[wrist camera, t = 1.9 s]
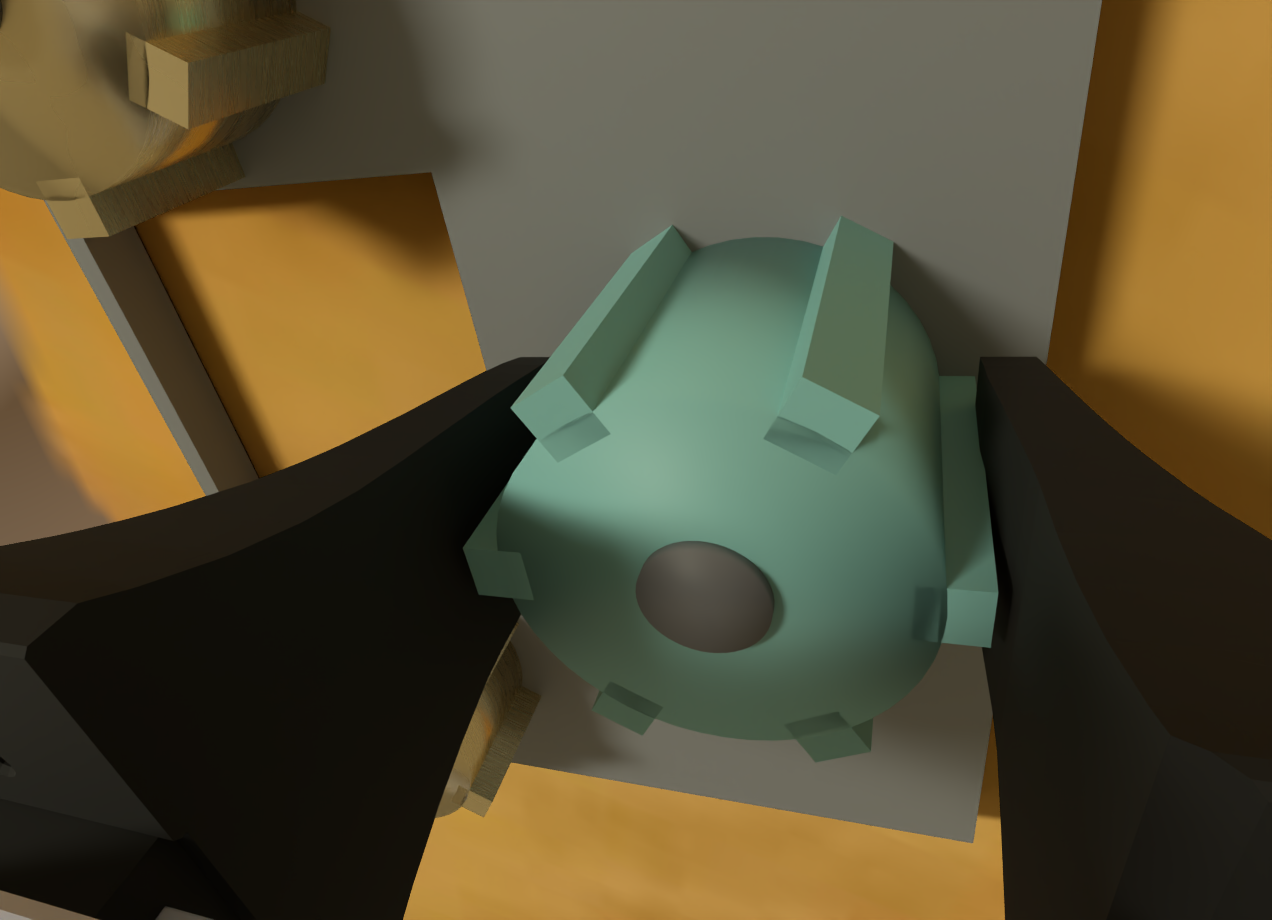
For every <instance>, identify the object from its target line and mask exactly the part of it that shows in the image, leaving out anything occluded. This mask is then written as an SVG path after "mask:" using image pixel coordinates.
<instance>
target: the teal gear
mask: <svg viewBox="0 0 1272 920" xmlns="http://www.w3.org/2000/svg"><path fill="white" fill-rule="evenodd" d="M893 243H894V242H893V241H891V240H889V239H887V238H885V237H883V236H881V235H879V234H877V233H875V232H873V231H871V230H869V229H867V228H865V227H863V226H861V225H859V224H857V223H855V222H853V221H851V220H849V219H847V218H845V217H843V216H841V217H840V219H839V220H838V222H837V224H836V225H835V227H834V229H833V231H832V232H831V234H830V236H829V238H828V239H827V241H826V243H825V245H824V246H820V245H816V244H813V243H809V242H805V241H800V240H793V239H786V238H779V237H752V238H743V239H734V240H729V241H725V242H720V243H716V244H712V245H709V246H706V247H704V248H701V249H699V250H696V251H694V252H691V250H690V249H689V247H688V246H687V245H686V243H685V242H684V240H683V239H682V237H681V236H680V235H679V233H678V232H677V230H676V229H675V228H674V226H673V225H671V226H670V227H668V228H667V229H666V230H664V231H663V232H661V233H660V234H658V235H657V236H655V237H654V238H653V239H651V240H650V241H648V242H647V243H645V244H644V245H643V246H641V247H640V248H638V249H637V250H635V251H634V252H632V253H631V254H630V256H629V257H628V258H627V260H626V261H625V262H624V263H623V265H622V266H621V267H620V269H619V270H618V271H617V272H616V274H615V275H614V276H613V277H612V279H611V280H610V281H609V283H608V284H607V285H606V286H605V288H604V289H603V290H602V292H601V293H600V294H599V295H598V297H597V298H596V299H595V300H594V302H593V303H592V304H591V306H590V307H589V308H588V309H587V311H586V312H585V313H584V315H583V316H582V317H581V318H580V320H579V321H578V322H577V323H576V325H575V326H574V327H573V329H572V330H571V331H570V332H569V334H568V335H567V336H566V337H565V339H564V340H563V341H562V343H561V344H560V345H559V346H558V348H557V349H556V350H555V352H554V353H553V354H552V355H551V357H550V358H549V359H548V360H547V362H546V363H545V364H544V366H543V367H542V368H541V369H540V371H539V372H538V373H537V375H536V376H535V377H534V378H533V380H532V381H531V382H530V383H529V385H528V386H527V387H526V389H525V390H524V391H523V392H522V394H521V395H520V396H519V398H518V399H517V400H516V401H515V403H514V404H513V405H512V406H511V409H512V410H513V412H514V413H515V414H516V415H517V416H518V417H519V418H520V420H521V421H522V422H523V423H524V424H525V425H526V427H527V428H528V429H529V430H530V431H531V432H532V434H533V435H534V436H535V437H536V438H537V439H536V441H535V442H534V443H533V445H532V446H531V448H530V449H529V451H528V452H527V454H526V455H525V456H524V458H523V459H522V461H521V462H520V464H519V465H518V467H517V468H516V469H515V471H514V472H513V474H512V476H511V478H510V480H509V482H508V483H507V485H506V486H505V487H504V489H503V490H502V492H501V493H500V495H499V496H498V498H497V499H496V500H495V502H494V503H493V505H492V506H491V508H490V509H489V511H488V512H487V514H486V515H485V516H484V518H483V519H482V521H481V522H480V524H479V525H478V527H477V528H476V529H475V531H474V532H473V534H472V535H471V537H470V538H469V540H468V541H467V543H466V544H465V545H464V547H463V550H464V553H465V556H466V559H467V562H468V565H469V568H470V570H471V573H472V576H473V579H474V582H475V585H476V588H477V591H478V594H479V595H487V596H497V597H507V598H513V600H514V602H515V604H516V605H517V607H518V609H519V611H520V613H521V614H522V616H523V617H524V619H525V620H526V622H527V623H528V624H529V626H530V627H531V629H532V630H533V632H534V633H535V634H536V635H537V636H538V637H539V639H540V640H541V641H542V642H543V643H544V644H545V645H546V647H547V648H548V649H549V650H550V651H551V652H552V653H553V654H554V655H555V656H556V657H557V658H558V659H559V660H561V661H562V662H563V663H564V664H565V665H566V666H567V667H568V668H569V669H571V670H572V671H573V672H575V673H576V674H577V675H578V676H580V677H581V678H582V679H583V680H585V681H586V682H588V683H589V684H591V685H592V686H594V687H595V688H597V689H598V690H599V693H598V695H597V698H596V700H595V703H594V705H593V708H592V711H594V712H596V713H598V714H600V715H602V716H604V717H606V718H608V719H610V720H612V721H614V722H616V723H618V724H620V725H622V726H624V727H626V728H628V729H630V730H632V731H634V732H636V733H638V734H640V735H642V736H643V734H644V733H645V732H646V730H647V729H648V727H649V726H650V725H651V723H652V722H653V721H654V719H657V720H660V721H663V722H666V723H669V724H671V725H674V726H678V727H681V728H685V729H688V730H692V731H696V732H699V733H704V734H710V735H715V736H720V737H726V738H735V739H744V740H767V741H778V740H793V739H796V740H797V741H798V743H799V744H800V745H801V746H802V747H803V748H804V750H805V751H806V752H807V753H808V754H809V755H810V757H811V758H812V759H813V760H814V761H815V762H821V761H826V760H831V759H837V758H842V757H847V756H852V755H857V754H862V753H867V752H871V745H872V728H873V717H875V716H877V715H879V714H881V713H882V712H884V711H886V710H888V709H889V708H891V707H892V706H893V705H895V704H896V703H897V702H898V701H900V700H901V699H902V698H904V697H905V696H906V695H907V694H908V693H909V692H910V691H911V690H912V689H913V688H914V687H915V686H916V685H917V684H918V683H919V682H920V681H921V680H922V678H923V677H924V675H925V674H926V672H927V671H928V669H929V668H930V666H931V665H932V663H933V662H934V660H935V658H936V655H937V653H938V650H939V648H940V646H941V643H949V644H959V645H968V646H978V647H988V648H991V642H992V635H993V628H994V621H995V613H996V606H997V599H998V585H997V575H996V566H995V557H994V548H993V538H992V529H991V520H990V510H989V501H988V492H987V483H986V473H985V468H984V464H983V460H982V457H981V453H980V447H979V438H978V428H977V418H976V408H975V401H976V392H977V390H976V381H975V376H939V372H938V366H937V360H936V357H935V354H934V351H933V348H932V345H931V342H930V339H929V337H928V335H927V333H926V331H925V329H924V327H923V325H922V323H921V321H920V320H919V318H918V317H917V315H916V314H915V313H914V311H913V310H912V308H911V307H910V306H909V304H908V303H907V302H906V300H905V299H904V298H903V297H902V296H901V295H900V294H899V293H898V292H897V291H896V290H895V289H894V288H893V287H892V286H891V285H890V281H891V268H892V255H893Z"/></svg>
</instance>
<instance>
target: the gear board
mask: <svg viewBox="0 0 1272 920" xmlns="http://www.w3.org/2000/svg"><path fill="white" fill-rule="evenodd" d="M1101 4H1102V0H0V188H3V189H5V190H7V191H10V192H13V193H17V194H20V195H23V196H26V197H30V198H36V199H42V200H44V201H45V203H46V205H47V207H48V209H49V211H50V212H51V214H52V216H53V218H54V220H55V222H56V223H57V225H58V227H59V229H60V231H61V232H62V234H63V236H64V238H65V240H66V242H67V243H68V245H69V247H70V249H71V251H72V253H73V254H74V256H75V258H76V260H77V262H78V263H79V265H80V267H81V269H82V271H83V273H84V274H85V276H86V278H87V280H88V282H89V283H90V285H91V287H92V289H93V291H94V293H95V294H96V296H97V298H98V300H99V302H100V304H101V305H102V307H103V309H104V311H105V313H106V314H107V316H108V318H109V320H110V322H111V324H112V325H113V327H114V329H115V331H116V333H117V335H118V336H119V338H120V340H121V342H122V344H123V345H124V347H125V349H126V351H127V353H128V355H129V356H130V358H131V360H132V362H133V364H134V365H135V367H136V369H137V371H138V373H139V375H140V376H141V378H142V380H143V382H144V384H145V386H146V387H147V389H148V391H149V393H150V395H151V396H152V398H153V400H154V402H155V404H156V406H157V407H158V409H159V411H160V413H161V415H162V417H163V418H164V420H165V422H166V424H167V426H168V427H169V429H170V431H171V433H172V435H173V437H174V438H175V440H176V442H177V444H178V446H179V448H180V449H181V451H182V453H183V455H184V457H185V458H186V460H187V462H188V464H189V466H190V468H191V469H192V471H193V473H194V475H195V477H196V478H197V480H198V482H199V484H200V486H201V488H202V489H203V491H204V493H205V495H206V496H208V495H211V494H214V493H217V492H220V491H223V490H226V489H229V488H233V487H236V486H239V485H242V484H245V483H248V482H251V481H254V480H256V479H259V478H258V476H257V474H256V472H255V470H254V468H253V466H252V464H251V462H250V460H249V458H248V456H247V454H246V452H245V450H244V448H243V446H242V444H241V442H240V440H239V438H238V436H237V433H236V431H235V429H234V427H233V425H232V423H231V421H230V419H229V417H228V415H227V413H226V411H225V409H224V407H223V405H222V403H221V401H220V399H219V397H218V395H217V393H216V391H215V389H214V387H213V385H212V383H211V381H210V379H209V377H208V375H207V373H206V371H205V369H204V367H203V365H202V363H201V361H200V359H199V357H198V355H197V353H196V351H195V349H194V347H193V345H192V343H191V341H190V339H189V337H188V335H187V333H186V331H185V329H184V327H183V325H182V323H181V321H180V319H179V317H178V315H177V313H176V311H175V309H174V307H173V305H172V303H171V300H170V298H169V296H168V294H167V292H166V290H165V288H164V286H163V284H162V282H161V280H160V278H159V276H158V274H157V272H156V270H155V268H154V266H153V264H152V262H151V260H150V258H149V256H148V254H147V252H146V250H145V248H144V246H143V244H142V242H141V240H140V238H139V236H138V234H137V232H136V230H135V228H134V226H135V225H137V224H139V223H141V222H144V221H146V220H148V219H151V218H153V217H155V216H157V215H160V214H162V213H164V212H167V211H169V210H171V209H174V208H176V207H178V206H180V205H183V204H185V203H187V202H190V201H192V200H194V199H196V198H199V197H201V196H203V195H206V194H208V193H210V192H213V191H215V190H225V189H237V188H249V187H261V186H273V185H285V184H297V183H309V182H321V181H333V180H345V179H357V178H368V177H380V176H392V175H404V174H416V173H428V172H431V173H432V176H433V180H434V184H435V187H436V191H437V194H438V198H439V202H440V205H441V209H442V212H443V216H444V220H445V223H446V227H447V230H448V234H449V237H450V241H451V245H452V248H453V252H454V255H455V259H456V263H457V266H458V270H459V273H460V277H461V281H462V284H463V288H464V291H465V295H466V298H467V302H468V306H469V309H470V313H471V316H472V320H473V324H474V327H475V331H476V334H477V338H478V341H479V345H480V349H481V352H482V356H483V359H484V363H485V367H486V370H489V369H491V368H493V367H496V366H498V365H500V364H502V363H505V362H507V361H510V360H513V359H516V358H519V357H551V355H552V354H553V353H554V352H555V350H556V349H557V348H558V346H559V345H560V344H561V343H562V341H563V340H564V339H565V337H566V336H567V335H568V334H569V332H570V331H571V330H572V329H573V327H574V326H575V325H576V323H577V322H578V321H579V320H580V318H581V317H582V316H583V315H584V313H585V312H586V311H587V309H588V308H589V307H590V306H591V304H592V303H593V302H594V300H595V299H596V298H597V297H598V295H599V294H600V293H601V292H602V290H603V289H604V288H605V286H606V285H607V284H608V283H609V281H610V280H611V279H612V277H613V276H614V275H615V274H616V272H617V271H618V270H619V269H620V267H621V266H622V265H623V263H624V262H625V261H626V260H627V258H628V257H629V256H630V254H631V253H632V252H634V251H635V250H637V249H638V248H640V247H641V246H643V245H644V244H645V243H647V242H648V241H650V240H651V239H653V238H654V237H655V236H657V235H658V234H660V233H661V232H663V231H664V230H666V229H667V228H668V227H670V226H671V225H673V226H674V228H675V229H676V230H677V232H678V233H679V235H680V236H681V237H682V239H683V240H684V242H685V243H686V245H687V246H688V247H689V249H690V250H691V252H694V251H696V250H699V249H701V248H704V247H706V246H709V245H712V244H716V243H720V242H725V241H729V240H734V239H743V238H752V237H779V238H786V239H793V240H800V241H805V242H809V243H813V244H816V245H820V246H824V245H825V243H826V241H827V239H828V238H829V236H830V234H831V232H832V231H833V229H834V227H835V225H836V224H837V222H838V220H839V219H840V217H841V216H843V217H845V218H847V219H849V220H851V221H853V222H855V223H857V224H859V225H861V226H863V227H865V228H867V229H869V230H871V231H873V232H875V233H877V234H879V235H881V236H883V237H885V238H887V239H889V240H891V241H893V242H894V243H893V255H892V268H891V281H890V285H891V286H892V287H893V288H894V289H895V290H896V291H897V292H898V293H899V294H900V295H901V296H902V297H903V298H904V299H905V300H906V302H907V303H908V304H909V306H910V307H911V308H912V310H913V311H914V313H915V314H916V315H917V317H918V318H919V320H920V321H921V323H922V325H923V327H924V329H925V331H926V333H927V335H928V337H929V339H930V342H931V345H932V348H933V351H934V354H935V357H936V360H937V366H938V372H939V376H975V381H976V390H977V382H978V372H979V362H980V357H1037V358H1038V359H1040V360H1041V361H1042V362H1043V363H1044V364H1045V365H1046V363H1047V357H1048V350H1049V344H1050V337H1051V331H1052V324H1053V318H1054V311H1055V304H1056V298H1057V291H1058V285H1059V278H1060V272H1061V265H1062V259H1063V252H1064V246H1065V239H1066V233H1067V226H1068V219H1069V213H1070V206H1071V200H1072V193H1073V187H1074V180H1075V174H1076V167H1077V161H1078V154H1079V148H1080V141H1081V135H1082V128H1083V121H1084V115H1085V108H1086V102H1087V95H1088V89H1089V82H1090V76H1091V69H1092V63H1093V56H1094V50H1095V43H1096V37H1097V30H1098V23H1099V17H1100V10H1101ZM598 693H599V690H598V689H597V688H595V687H594V686H592V685H591V684H589V683H588V682H586V681H585V680H583V679H582V678H581V677H580V676H578V675H577V674H576V673H575V672H573V671H572V670H571V669H569V668H568V667H567V666H566V665H565V664H564V663H563V662H562V661H561V660H559V659H558V658H557V657H556V656H555V655H554V654H553V653H552V652H551V651H550V650H549V649H548V648H547V647H546V645H545V644H544V643H543V642H542V641H541V640H540V639H539V637H538V636H537V635H536V634H535V633H534V632H533V630H532V629H531V627H530V626H529V624H528V623H527V622H526V620H525V619H524V617H523V616H522V614H521V616H520V618H519V619H518V621H517V623H516V625H515V627H514V629H513V630H512V632H511V634H510V636H509V638H508V640H507V642H506V643H505V645H504V647H503V649H502V651H501V653H500V655H499V657H498V659H497V661H496V663H495V665H494V667H493V669H492V671H491V673H490V675H489V677H488V680H487V682H486V684H485V687H484V689H483V692H482V694H481V697H480V699H479V702H478V704H477V707H476V709H475V712H474V714H473V717H472V719H471V722H470V724H469V727H468V729H467V732H466V734H465V737H464V739H463V742H462V744H461V747H460V750H459V753H458V755H457V758H456V761H455V763H454V766H453V769H452V772H451V774H450V777H449V780H448V782H447V785H446V788H445V791H444V793H443V796H442V799H441V802H440V804H439V807H438V810H437V813H436V816H435V818H437V817H442V816H445V815H449V814H451V813H453V812H455V811H457V810H458V809H459V808H460V807H461V806H462V807H464V808H466V809H468V810H470V811H472V812H474V813H476V814H478V815H480V816H482V817H484V816H485V814H486V812H487V811H488V809H489V807H490V805H491V803H492V801H493V799H494V797H495V795H496V793H497V791H498V789H499V786H500V784H501V782H502V780H503V778H504V776H505V774H506V771H507V769H508V767H509V765H510V763H511V762H512V763H518V764H524V765H529V766H535V767H541V768H546V769H552V770H558V771H564V772H569V773H575V774H581V775H586V776H592V777H598V778H603V779H609V780H615V781H621V782H626V783H632V784H638V785H643V786H649V787H655V788H661V789H666V790H672V791H678V792H683V793H689V794H695V795H700V796H706V797H712V798H718V799H723V800H729V801H735V802H740V803H746V804H752V805H758V806H763V807H769V808H775V809H780V810H786V811H792V812H797V813H803V814H809V815H815V816H820V817H826V818H832V819H837V820H843V821H849V822H855V823H860V824H866V825H872V826H877V827H883V828H889V829H894V830H900V831H906V832H912V833H917V834H923V835H929V836H934V837H940V838H946V839H952V840H957V841H963V842H969V843H973V840H974V834H975V827H976V821H977V814H978V808H979V801H980V794H981V788H982V781H983V775H984V768H985V762H986V755H987V749H988V742H989V736H990V729H991V723H992V716H993V712H992V706H991V700H990V694H989V688H988V682H987V676H986V670H985V664H984V658H983V652H982V647H978V646H968V645H959V644H949V643H941V646H940V648H939V650H938V653H937V655H936V658H935V660H934V662H933V663H932V665H931V666H930V668H929V669H928V671H927V672H926V674H925V675H924V677H923V678H922V680H921V681H920V682H919V683H918V684H917V685H916V686H915V687H914V688H913V689H912V690H911V691H910V692H909V693H908V694H907V695H906V696H905V697H904V698H902V699H901V700H900V701H898V702H897V703H896V704H895V705H893V706H892V707H891V708H889V709H888V710H886V711H884V712H882V713H881V714H879V715H877V716H875V717H873V728H872V745H871V752H867V753H862V754H857V755H852V756H847V757H842V758H837V759H831V760H826V761H821V762H815V761H814V760H813V759H812V758H811V757H810V755H809V754H808V753H807V752H806V751H805V750H804V748H803V747H802V746H801V745H800V744H799V743H798V741H797V740H796V739H793V740H778V741H767V740H744V739H735V738H726V737H720V736H715V735H710V734H704V733H699V732H696V731H692V730H688V729H685V728H681V727H678V726H674V725H671V724H669V723H666V722H663V721H660V720H657V719H654V721H653V722H652V723H651V725H650V726H649V727H648V729H647V730H646V732H645V733H644V734H643V736H642V735H640V734H638V733H636V732H634V731H632V730H630V729H628V728H626V727H624V726H622V725H620V724H618V723H616V722H614V721H612V720H610V719H608V718H606V717H604V716H602V715H600V714H598V713H596V712H594V711H592V708H593V705H594V703H595V700H596V698H597V695H598Z"/></svg>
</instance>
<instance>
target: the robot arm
mask: <svg viewBox="0 0 1272 920" xmlns="http://www.w3.org/2000/svg"><path fill="white" fill-rule="evenodd" d="M549 358H550V357H519V358H516V359H513V360H510V361H507V362H505V363H502V364H500V365H498V366H496V367H493V368H491V369H489V370H487V371H485V372H483V373H481V374H479V375H477V376H475V377H473V378H471V379H469V380H467V381H465V382H463V383H461V384H460V385H458V386H456V387H454V388H452V389H450V390H448V391H446V392H444V393H443V394H441V395H439V396H437V397H435V398H433V399H431V400H429V401H427V402H426V403H424V404H422V405H420V406H418V407H416V408H414V409H412V410H410V411H409V412H407V413H405V414H403V415H401V416H399V417H397V418H395V419H393V420H391V421H389V422H387V423H384V424H382V425H380V426H378V427H376V428H374V429H372V430H370V431H368V432H366V433H364V434H362V435H360V436H358V437H356V438H354V439H352V440H350V441H348V442H346V443H344V444H342V445H340V446H337V447H335V448H333V449H331V450H328V451H326V452H324V453H322V454H319V455H317V456H315V457H312V458H310V459H308V460H305V461H303V462H300V463H298V464H295V465H293V466H290V467H288V468H285V469H283V470H280V471H277V472H275V473H272V474H270V475H267V476H265V477H262V478H259V479H256V480H254V481H251V482H248V483H245V484H242V485H239V486H236V487H233V488H229V489H226V490H223V491H220V492H217V493H214V494H211V495H208V496H205V497H202V498H199V499H196V500H192V501H189V502H186V503H183V504H180V505H177V506H173V507H170V508H167V509H163V510H159V511H156V512H152V513H148V514H144V515H141V516H137V517H133V518H129V519H126V520H122V521H117V522H113V523H109V524H105V525H101V526H97V527H93V528H88V529H84V530H80V531H75V532H71V533H66V534H61V535H57V536H52V537H47V538H41V539H36V540H31V541H25V542H20V543H15V544H9V545H4V546H0V920H403V917H404V914H405V910H406V907H407V903H408V900H409V897H410V893H411V890H412V886H413V883H414V880H415V877H416V874H417V871H418V868H419V865H420V862H421V859H422V856H423V853H424V850H425V847H426V844H427V841H428V837H429V834H430V831H431V828H432V825H433V822H434V819H435V816H436V813H437V810H438V807H439V804H440V802H441V799H442V796H443V793H444V791H445V788H446V785H447V782H448V780H449V777H450V774H451V772H452V769H453V766H454V763H455V761H456V758H457V755H458V753H459V750H460V747H461V744H462V742H463V739H464V737H465V734H466V732H467V729H468V727H469V724H470V722H471V719H472V717H473V714H474V712H475V709H476V707H477V704H478V702H479V699H480V697H481V694H482V692H483V689H484V687H485V684H486V682H487V680H488V677H489V675H490V673H491V671H492V669H493V667H494V665H495V663H496V661H497V659H498V657H499V655H500V653H501V651H502V649H503V647H504V645H505V643H506V642H507V640H508V638H509V636H510V634H511V632H512V630H513V629H514V627H515V625H516V623H517V621H518V619H519V618H520V616H521V613H520V611H519V609H518V607H517V605H516V604H515V602H514V600H513V598H507V597H497V596H487V595H479V594H478V591H477V588H476V585H475V582H474V579H473V576H472V573H471V570H470V568H469V565H468V562H467V559H466V556H465V553H464V550H463V547H464V545H465V544H466V543H467V541H468V540H469V538H470V537H471V535H472V534H473V532H474V531H475V529H476V528H477V527H478V525H479V524H480V522H481V521H482V519H483V518H484V516H485V515H486V514H487V512H488V511H489V509H490V508H491V506H492V505H493V503H494V502H495V500H496V499H497V498H498V496H499V495H500V493H501V492H502V490H503V489H504V487H505V486H506V485H507V483H508V482H509V480H510V478H511V476H512V474H513V472H514V471H515V469H516V468H517V467H518V465H519V464H520V462H521V461H522V459H523V458H524V456H525V455H526V454H527V452H528V451H529V449H530V448H531V446H532V445H533V443H534V442H535V441H536V439H537V438H536V437H535V436H534V435H533V434H532V432H531V431H530V430H529V429H528V428H527V427H526V425H525V424H524V423H523V422H522V421H521V420H520V418H519V417H518V416H517V415H516V414H515V413H514V412H513V410H512V409H511V406H512V405H513V404H514V403H515V401H516V400H517V399H518V398H519V396H520V395H521V394H522V392H523V391H524V390H525V389H526V387H527V386H528V385H529V383H530V382H531V381H532V380H533V378H534V377H535V376H536V375H537V373H538V372H539V371H540V369H541V368H542V367H543V366H544V364H545V363H546V362H547V360H548V359H549ZM975 408H976V418H977V428H978V438H979V447H980V453H981V457H982V460H983V464H984V468H985V473H986V483H987V492H988V501H989V510H990V520H991V529H992V538H993V548H994V557H995V566H996V575H997V585H998V599H997V606H996V613H995V621H994V628H993V635H992V642H991V648H988V647H982V652H983V658H984V664H985V670H986V676H987V682H988V688H989V694H990V700H991V706H992V712H993V720H994V729H995V737H996V746H997V759H998V778H999V797H1000V816H1001V836H1002V859H1003V881H1004V904H1005V920H1272V540H1270V539H1269V538H1267V537H1266V536H1264V535H1262V534H1261V533H1259V532H1257V531H1256V530H1254V529H1253V528H1251V527H1249V526H1248V525H1246V524H1245V523H1243V522H1241V521H1240V520H1238V519H1236V518H1235V517H1233V516H1232V515H1230V514H1228V513H1227V512H1225V511H1223V510H1222V509H1220V508H1219V507H1217V506H1215V505H1214V504H1212V503H1211V502H1209V501H1208V500H1206V499H1205V498H1203V497H1202V496H1201V495H1199V494H1198V493H1196V492H1195V491H1193V490H1192V489H1190V488H1189V487H1187V486H1186V485H1185V484H1183V483H1182V482H1181V481H1179V480H1178V479H1177V478H1175V477H1174V476H1173V475H1171V474H1170V473H1169V472H1167V471H1166V470H1165V469H1163V468H1162V467H1161V466H1159V465H1158V464H1157V463H1155V462H1154V461H1153V460H1151V459H1150V458H1149V457H1147V456H1146V455H1145V454H1144V453H1142V452H1141V451H1140V450H1139V449H1137V448H1136V447H1135V446H1134V445H1132V444H1131V443H1130V442H1129V441H1127V440H1126V439H1125V438H1124V437H1123V436H1122V435H1120V434H1119V433H1118V432H1117V431H1116V430H1114V429H1113V428H1112V427H1111V426H1110V425H1109V424H1108V423H1106V422H1105V421H1104V420H1103V419H1102V418H1101V417H1100V416H1099V415H1097V414H1096V413H1095V412H1094V411H1093V410H1092V409H1091V408H1090V407H1089V406H1088V405H1086V404H1085V403H1084V402H1083V401H1082V400H1081V399H1080V398H1079V397H1078V396H1077V395H1076V394H1075V393H1074V392H1073V391H1072V390H1071V389H1070V388H1069V387H1067V386H1066V385H1065V384H1064V383H1063V382H1062V381H1061V380H1060V379H1059V378H1058V377H1057V376H1056V375H1055V374H1054V373H1053V372H1052V371H1051V370H1050V369H1049V368H1048V367H1047V366H1046V365H1045V364H1044V363H1043V362H1042V361H1041V360H1040V359H1038V358H1037V357H980V362H979V372H978V382H977V392H976V401H975Z"/></svg>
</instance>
